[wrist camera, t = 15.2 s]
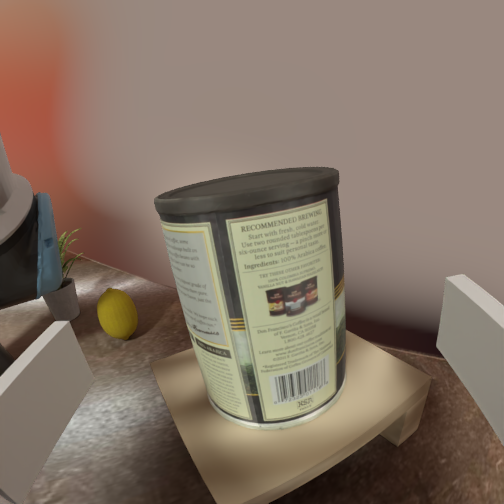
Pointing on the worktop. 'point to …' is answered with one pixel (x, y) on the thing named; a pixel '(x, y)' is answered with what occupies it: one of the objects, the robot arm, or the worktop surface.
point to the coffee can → (262, 291)
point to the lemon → (117, 314)
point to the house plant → (64, 292)
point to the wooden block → (295, 438)
